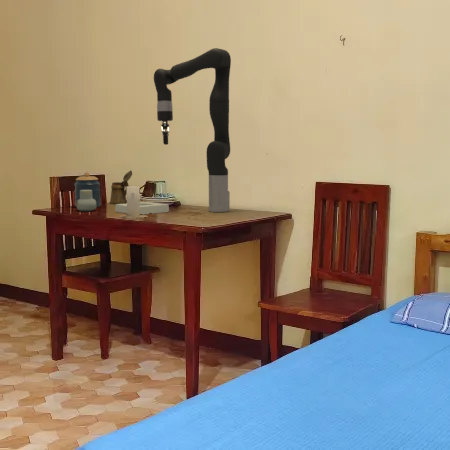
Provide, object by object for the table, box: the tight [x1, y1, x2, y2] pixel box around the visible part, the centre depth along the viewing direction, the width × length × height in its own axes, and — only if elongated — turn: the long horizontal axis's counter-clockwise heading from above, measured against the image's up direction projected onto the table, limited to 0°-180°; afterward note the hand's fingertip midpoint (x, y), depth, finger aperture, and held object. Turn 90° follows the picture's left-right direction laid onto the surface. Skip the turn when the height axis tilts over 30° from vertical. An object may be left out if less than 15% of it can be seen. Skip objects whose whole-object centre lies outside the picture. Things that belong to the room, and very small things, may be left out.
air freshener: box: [76, 190, 97, 212], centre depth 298 cm, size 11×8×10 cm
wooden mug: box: [109, 170, 133, 205], centre depth 331 cm, size 9×14×18 cm, turn 63°
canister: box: [73, 171, 102, 208], centre depth 316 cm, size 13×13×18 cm
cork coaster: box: [118, 214, 149, 220], centre depth 273 cm, size 9×9×1 cm
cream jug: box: [125, 185, 141, 217], centre depth 271 cm, size 8×6×13 cm
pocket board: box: [114, 201, 170, 215], centre depth 294 cm, size 18×18×4 cm
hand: (165, 144), depth 305 cm, fingers open, 8 cm apart
